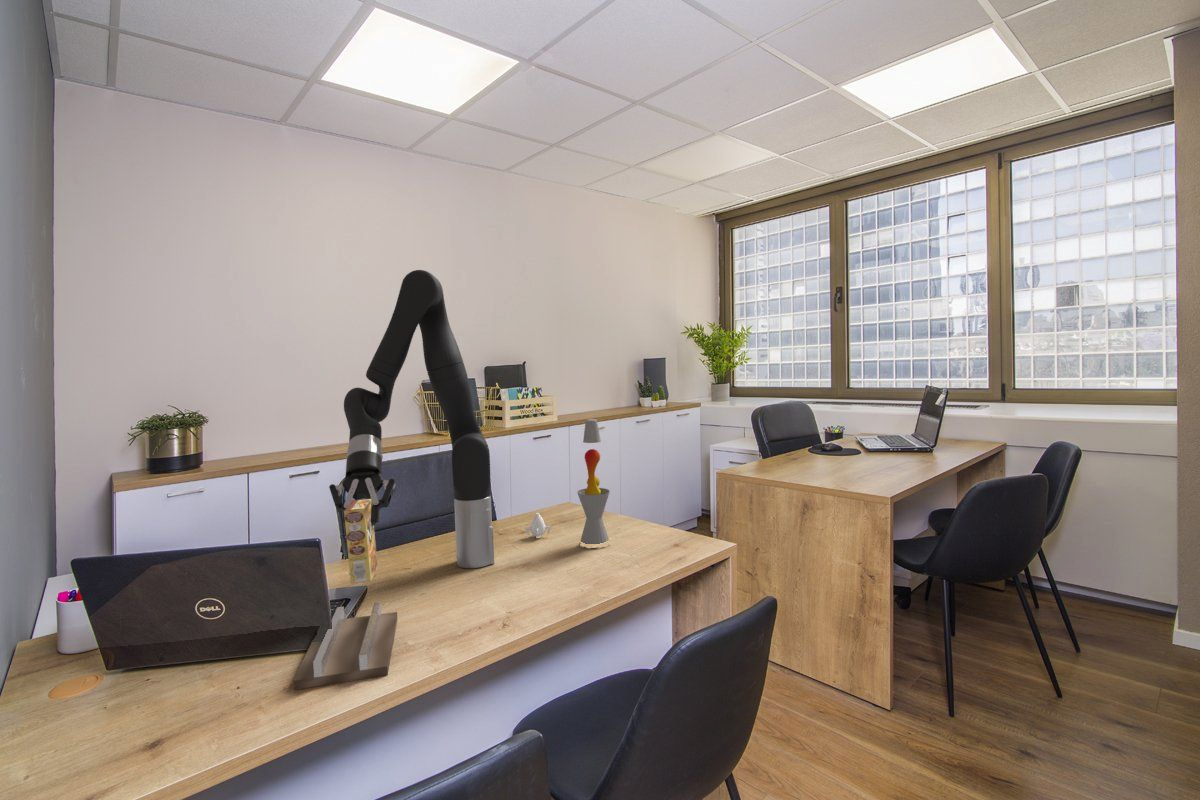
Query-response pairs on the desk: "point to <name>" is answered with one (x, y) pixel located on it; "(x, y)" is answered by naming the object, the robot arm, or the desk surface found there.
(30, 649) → the desk surface
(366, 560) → the candy box
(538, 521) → the rocket toy
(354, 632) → the track base
